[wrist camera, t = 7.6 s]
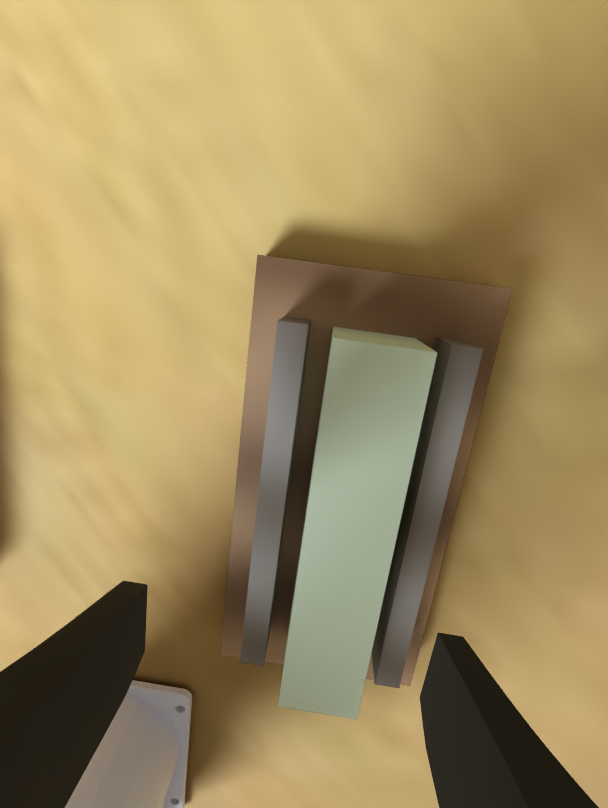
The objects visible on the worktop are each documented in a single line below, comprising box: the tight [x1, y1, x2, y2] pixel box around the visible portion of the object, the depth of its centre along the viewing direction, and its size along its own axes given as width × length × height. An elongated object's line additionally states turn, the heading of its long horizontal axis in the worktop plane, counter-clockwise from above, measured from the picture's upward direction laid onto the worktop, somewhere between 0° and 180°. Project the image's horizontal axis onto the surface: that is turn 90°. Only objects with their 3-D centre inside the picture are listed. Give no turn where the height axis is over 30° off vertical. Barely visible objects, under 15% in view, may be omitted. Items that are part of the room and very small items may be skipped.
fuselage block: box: [278, 327, 437, 720], centre depth 16 cm, size 14×3×4 cm, turn 173°
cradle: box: [220, 255, 512, 688], centre depth 17 cm, size 18×9×4 cm, turn 173°
